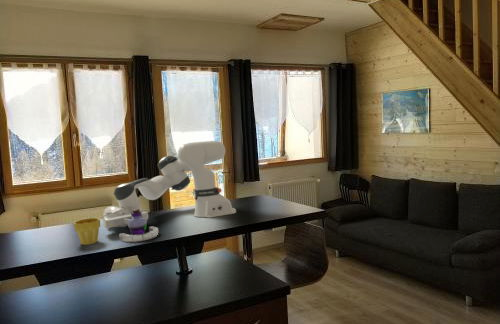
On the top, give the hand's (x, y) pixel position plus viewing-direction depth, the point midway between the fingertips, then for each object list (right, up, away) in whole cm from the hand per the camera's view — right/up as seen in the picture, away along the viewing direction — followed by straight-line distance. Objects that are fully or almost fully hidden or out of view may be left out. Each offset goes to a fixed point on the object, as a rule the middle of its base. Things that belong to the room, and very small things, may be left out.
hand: (132, 221), depth 182 cm
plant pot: (-17, -8, -7) cm, 20 cm away
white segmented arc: (+6, -6, -5) cm, 10 cm away
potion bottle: (+3, -6, -2) cm, 7 cm away
